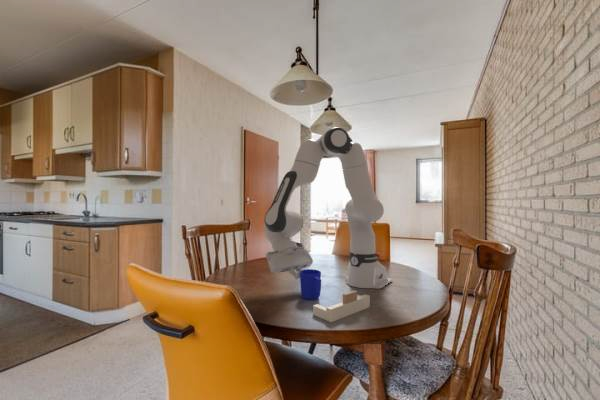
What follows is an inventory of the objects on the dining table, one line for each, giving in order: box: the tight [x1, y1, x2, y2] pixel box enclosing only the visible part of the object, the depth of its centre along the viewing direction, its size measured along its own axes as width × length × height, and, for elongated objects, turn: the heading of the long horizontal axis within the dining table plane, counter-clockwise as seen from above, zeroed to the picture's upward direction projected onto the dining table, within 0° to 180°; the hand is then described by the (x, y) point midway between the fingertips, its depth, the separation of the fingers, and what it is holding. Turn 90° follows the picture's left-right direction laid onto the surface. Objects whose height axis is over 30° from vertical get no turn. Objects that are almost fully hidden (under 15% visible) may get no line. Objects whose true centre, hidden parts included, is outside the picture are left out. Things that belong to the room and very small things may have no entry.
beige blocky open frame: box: [312, 290, 371, 323], centre depth 100 cm, size 20×8×7 cm, turn 131°
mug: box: [299, 268, 322, 301], centre depth 111 cm, size 8×12×10 cm
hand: (299, 277), depth 117 cm, fingers closed
